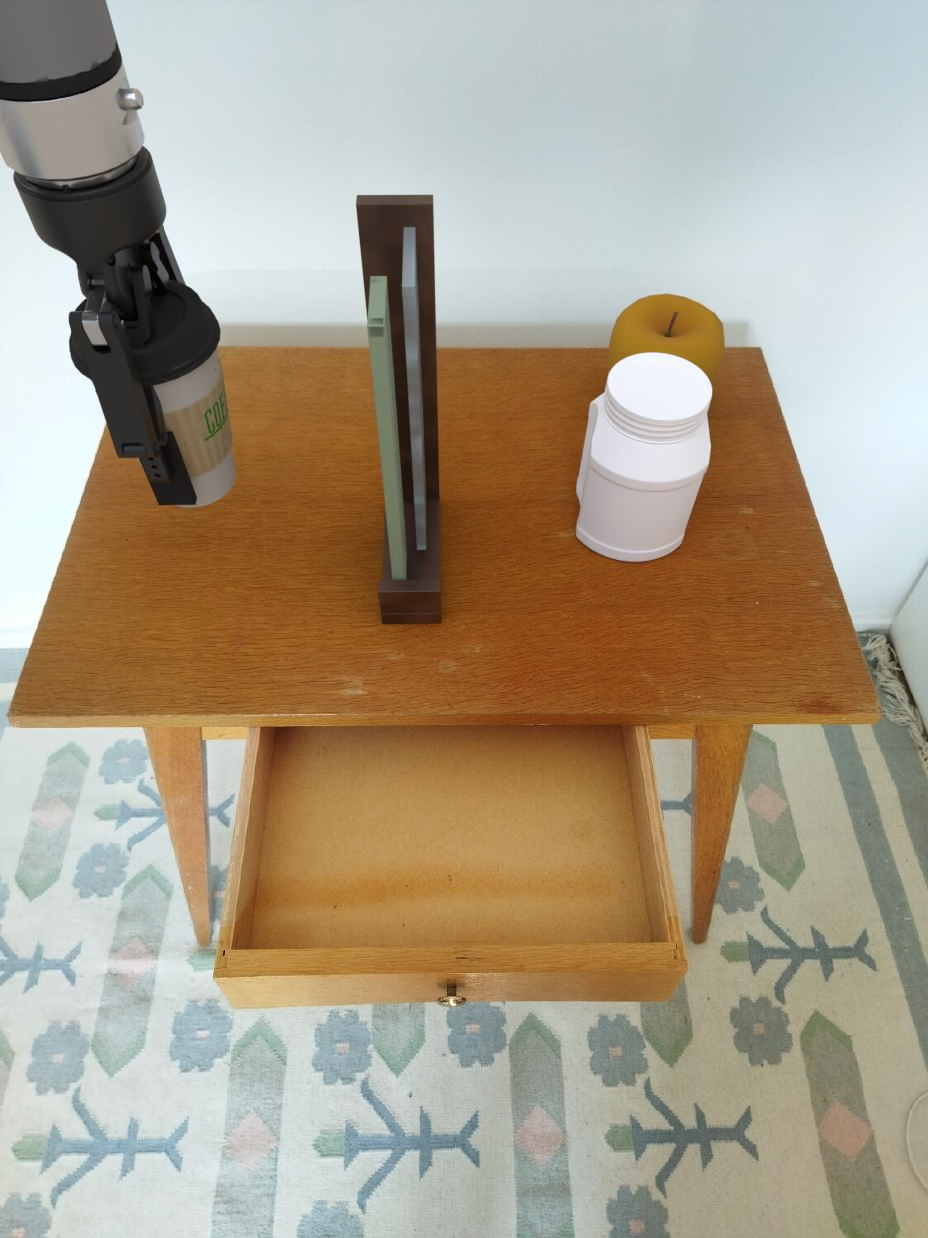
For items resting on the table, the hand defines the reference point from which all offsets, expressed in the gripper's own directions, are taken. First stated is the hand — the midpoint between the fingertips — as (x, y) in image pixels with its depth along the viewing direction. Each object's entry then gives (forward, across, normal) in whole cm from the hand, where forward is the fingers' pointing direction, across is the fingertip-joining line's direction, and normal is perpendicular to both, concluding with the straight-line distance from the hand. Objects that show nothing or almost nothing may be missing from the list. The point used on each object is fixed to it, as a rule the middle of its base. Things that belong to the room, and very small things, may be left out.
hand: (188, 457), depth 64 cm
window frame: (+12, -1, -17) cm, 21 cm away
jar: (+12, +4, -37) cm, 39 cm away
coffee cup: (+3, 0, 0) cm, 3 cm away
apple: (+12, +17, -41) cm, 46 cm away
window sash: (+10, -4, -16) cm, 19 cm away
